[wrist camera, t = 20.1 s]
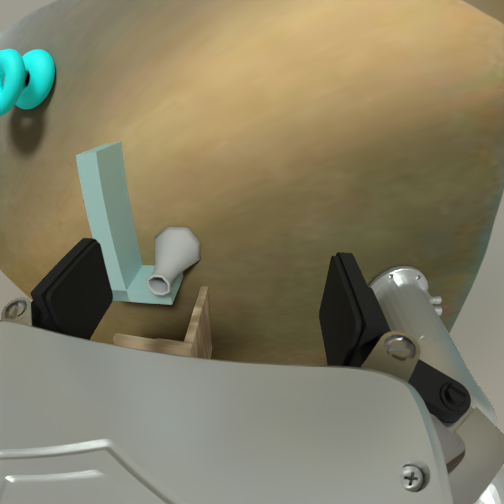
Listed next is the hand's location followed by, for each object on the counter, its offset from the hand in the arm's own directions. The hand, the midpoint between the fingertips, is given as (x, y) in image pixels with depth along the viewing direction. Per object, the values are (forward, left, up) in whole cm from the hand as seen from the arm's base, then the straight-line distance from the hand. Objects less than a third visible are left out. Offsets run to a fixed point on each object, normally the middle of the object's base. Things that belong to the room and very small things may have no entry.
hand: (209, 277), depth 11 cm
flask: (+10, +15, -29) cm, 34 cm away
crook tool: (+15, +10, -28) cm, 34 cm away
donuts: (+34, -14, -29) cm, 47 cm away
